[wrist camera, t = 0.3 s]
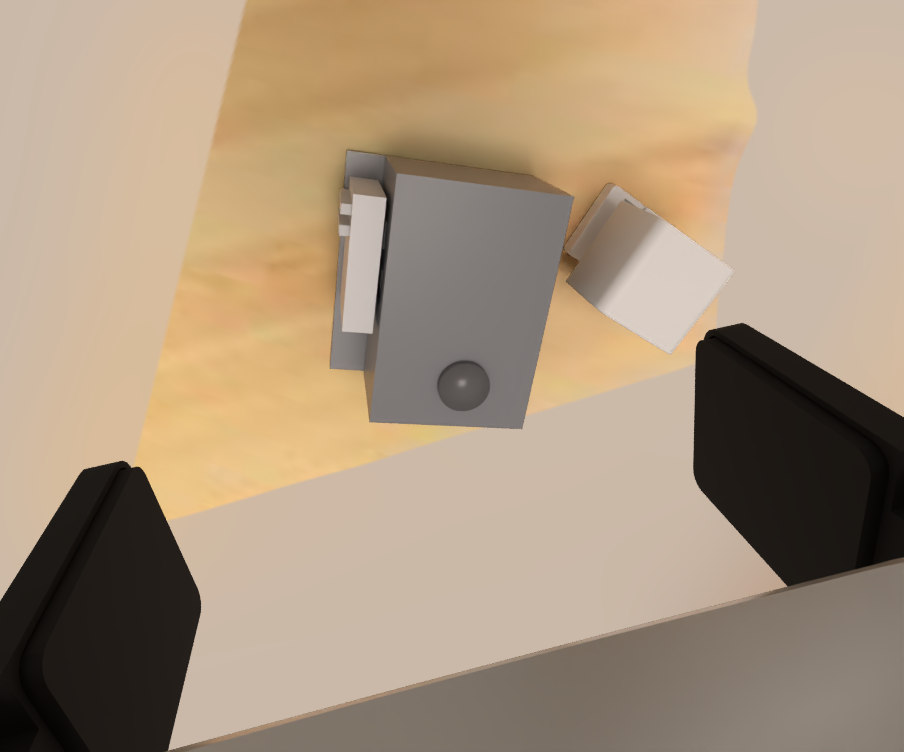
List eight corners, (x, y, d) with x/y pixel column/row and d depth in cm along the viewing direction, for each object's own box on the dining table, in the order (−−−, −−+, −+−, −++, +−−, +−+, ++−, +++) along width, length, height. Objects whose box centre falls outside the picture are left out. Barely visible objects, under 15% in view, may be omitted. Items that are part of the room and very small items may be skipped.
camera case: (346, 150, 40) (351, 168, 32) (533, 175, 42) (577, 198, 35) (330, 366, 46) (330, 425, 38) (493, 376, 49) (524, 433, 41)
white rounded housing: (545, 264, 45) (597, 311, 37) (603, 178, 43) (674, 205, 35) (610, 305, 48) (674, 358, 39) (668, 225, 46) (750, 262, 37)
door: (340, 175, 40) (342, 192, 34) (378, 179, 40) (386, 198, 35) (331, 295, 43) (331, 330, 37) (366, 298, 44) (372, 333, 38)
